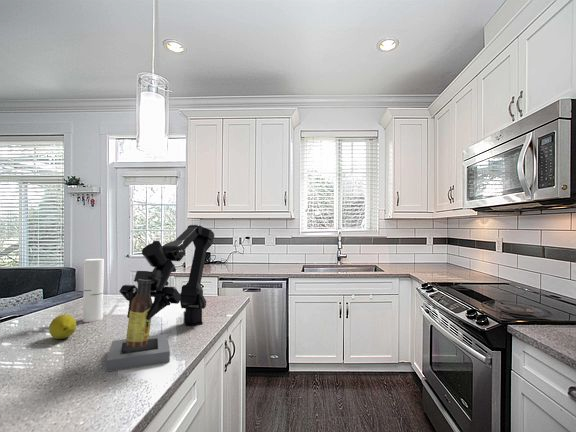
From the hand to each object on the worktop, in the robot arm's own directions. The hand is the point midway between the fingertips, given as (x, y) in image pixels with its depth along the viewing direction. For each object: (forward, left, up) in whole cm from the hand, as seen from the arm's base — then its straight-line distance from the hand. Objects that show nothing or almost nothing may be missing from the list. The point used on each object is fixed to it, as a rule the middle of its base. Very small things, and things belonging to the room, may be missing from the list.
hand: (137, 318), depth 94 cm
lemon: (+24, -28, -12) cm, 39 cm away
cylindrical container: (+18, -50, -12) cm, 54 cm away
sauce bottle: (0, -2, -8) cm, 9 cm away
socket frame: (-1, -1, -11) cm, 11 cm away
